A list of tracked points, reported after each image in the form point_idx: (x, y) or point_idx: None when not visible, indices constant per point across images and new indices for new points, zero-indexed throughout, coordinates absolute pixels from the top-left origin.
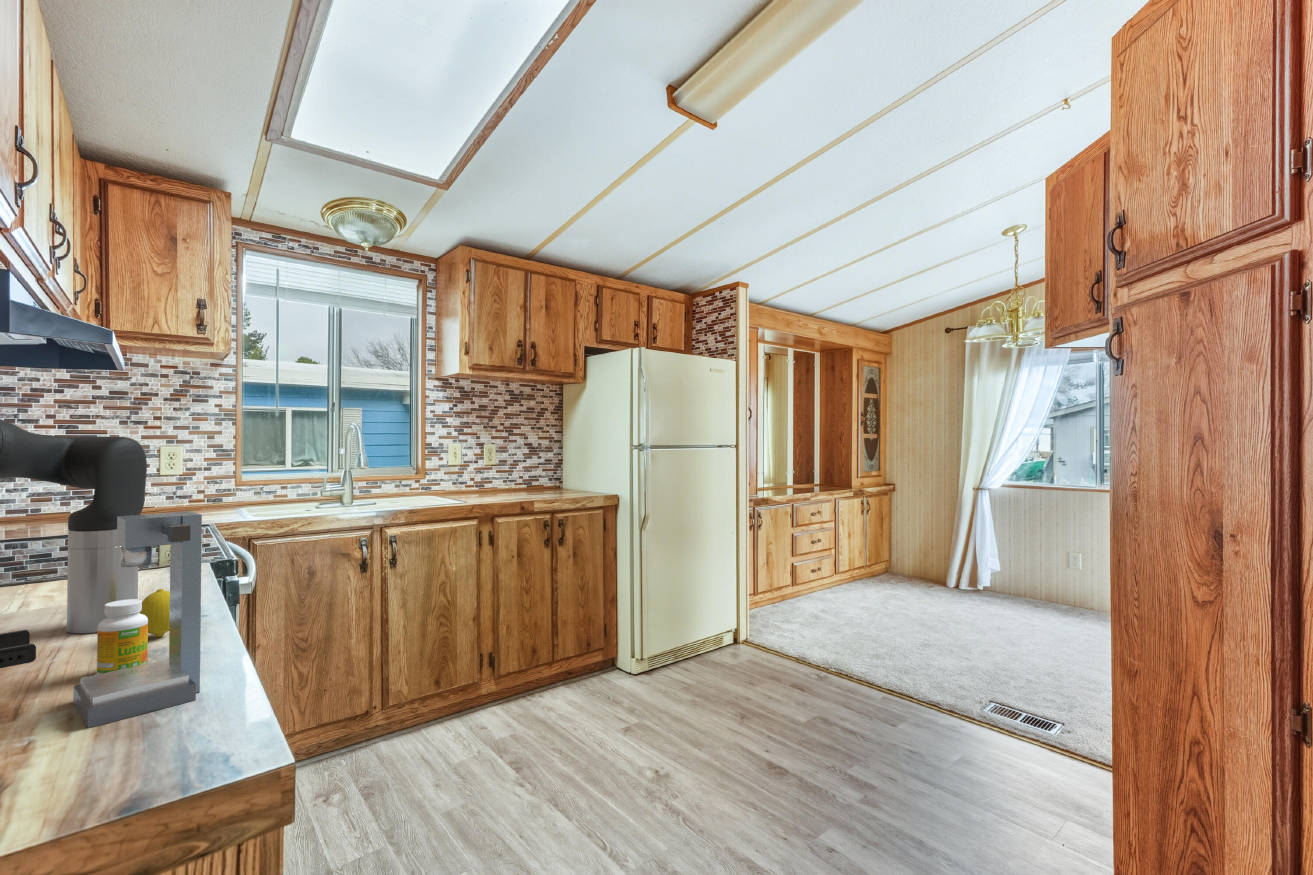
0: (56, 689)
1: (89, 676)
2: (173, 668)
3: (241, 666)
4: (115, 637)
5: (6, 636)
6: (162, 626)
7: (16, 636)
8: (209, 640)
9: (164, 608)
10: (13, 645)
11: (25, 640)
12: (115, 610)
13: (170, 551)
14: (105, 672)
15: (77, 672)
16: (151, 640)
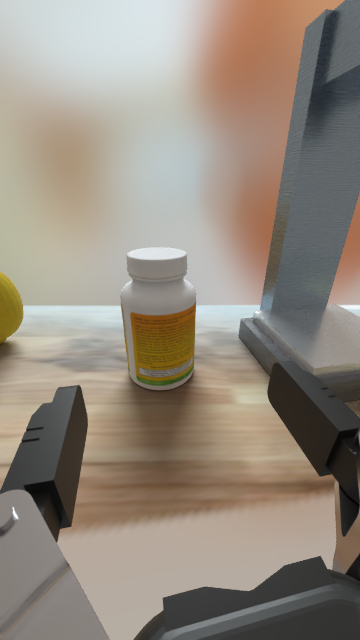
0: (203, 436)
1: (308, 360)
2: (301, 310)
3: (229, 306)
4: (194, 314)
5: (68, 435)
6: (20, 321)
7: (75, 416)
8: (92, 315)
9: (14, 291)
10: (79, 445)
11: (84, 412)
12: (185, 264)
13: (306, 118)
14: (186, 375)
15: (105, 416)
16: (6, 349)
